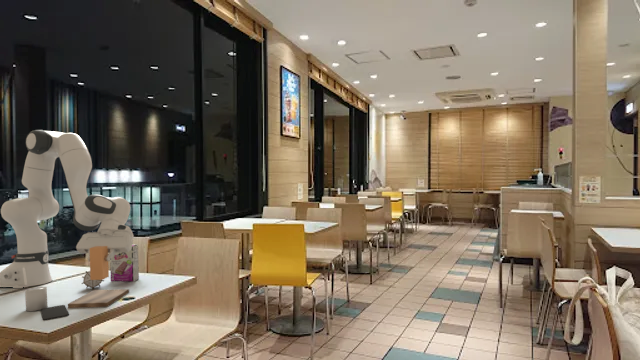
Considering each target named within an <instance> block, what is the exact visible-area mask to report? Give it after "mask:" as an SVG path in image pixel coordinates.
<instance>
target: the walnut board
mask: <svg viewBox="0 0 640 360" xmlns="http://www.w3.org/2000/svg"><path fill="white" fill-rule="evenodd" d="M129 293H130V289H129V288H126V289H125V288H124V289H123V288H121V289H118V288H117V289H92V290H91V291H90V292H88V293H86V294H84V295H82V296H80V297H78V298H77V299H75V300H73V301H70V302H68V303H67V309H74V308H75V309H76V308H77V309H79V308H80V309H81V308H83V309H85V308H107V307H109V306H111V305H112V304H114V303H116V302H117V301H119V300H120V299H121V298H124V297H125V296H126V295H128V294H129Z"/></svg>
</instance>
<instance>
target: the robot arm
mask: <svg viewBox="0 0 640 360" xmlns="http://www.w3.org/2000/svg"><path fill="white" fill-rule="evenodd" d="M25 147H26V148H27V151H28V152H27V155H26V158H25V160H24V161H25V162H24V166H23V172H22V177H21V184H22V185H23V187H25V188H26V189H27V191H28V197H18V198H13V199H10V200H6V201H5V202H4V203H3V204H2V206H1V208H0V214H1V218H2V219H3V220H4V221H5V222H7V223H8V224H10V225H11V227H12V229H13V231H14V233H15V235H16V245H17V246H16V247H17V253H15V254H14V255H12V256H11V259H13V262H11V263H10V264H9V265H8V266H7V267H5V268H3V269H2V270H1V271H0V287H13V288H12V289H23V287H24V288H28V287H34V286H39V285H40V286H41V285H45V284H48V283H50V282H52V281H53V278H52V276H51V272H50V267H49V259H50V257H49V254H50V253H49V250H48V235H47V233H46V232H45V231H44V230H42V229H41V228H40V226H39V223H38V221H44V220H46V221H47V220H48V219H52V218H54V217H56V216H57V214H58V213H59V211H60V204H59V202H58V200H57V199H56V198H55V197H54V194H53V192H52V191H53V190H52V181H53V177H54V172H55V171H54V170H55V164H56V160H57V158H59V160H60V162H61V166H62V169H63V172H64V175H65V181H66V183H67V184H66V185H67V189H68V193H69V196H70V199H71V200H70V201H71V203H72V207H73V217H72V222H73V224H74V226H75V227H76V228H77V229H79V230H81V231H84V232H86V233H84V234H83V235H82V236H81V238H80V239H79V240H78V242H77V244H76V246H75V249H76V250H77V252H78V253H79V254H88V258H87V261H88V262H89V263H90V248H92V247H95V246H107V249H108V255H105V258H104V260H105V261H108V262H110V258H111V257H113V256H114V255H115V253H116V252H129V251H130V250H131V248H132V244H134V240H133V238H134V233H133V231H132V229H131V227H130V226H128V225H125V224H126V223H127V221H128V219H129V216H130V213H131V204H130V202H129V201H128V200H127V199H126V198H123V197H122V196H121V197H120V196H115V197H106V196H104V195H101V194H97V193H96V194H89V195H88V192H87V184H88V180H89V177H90V174H91V171H92V169H93V163H92V156H91V154H90V152H89V149H88V147H87V145H86V144H85V142H84V141H83V139H82V138H81V137H80V135H78V134H77V133H73V132H61V131H54V130H53V131H51V130H43V129H35V130H32V131H31V130H30V132H29V133H27V135H26V138H25ZM97 229H98V230H97ZM95 230H97V231H95Z"/></svg>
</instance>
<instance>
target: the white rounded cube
mask: <svg viewBox="0 0 640 360" xmlns="http://www.w3.org/2000/svg"><path fill="white" fill-rule="evenodd" d="M24 295H25V296H24V297H25V311H26V312H34V311H36V312H37V311H41V309H44V308H48V289H47V286H40V287H33V288H27V289H25V290H24Z"/></svg>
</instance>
